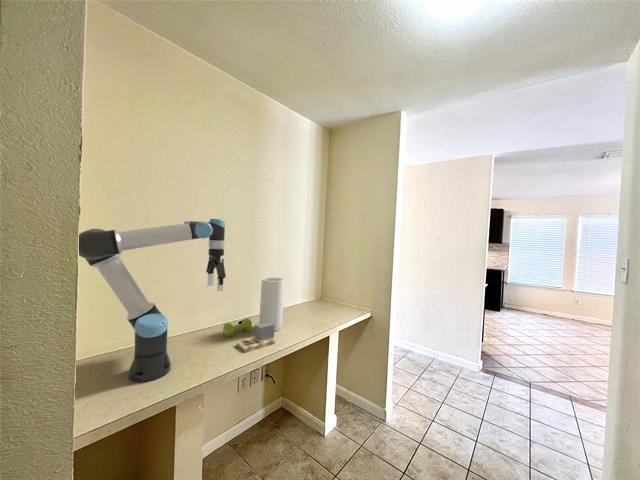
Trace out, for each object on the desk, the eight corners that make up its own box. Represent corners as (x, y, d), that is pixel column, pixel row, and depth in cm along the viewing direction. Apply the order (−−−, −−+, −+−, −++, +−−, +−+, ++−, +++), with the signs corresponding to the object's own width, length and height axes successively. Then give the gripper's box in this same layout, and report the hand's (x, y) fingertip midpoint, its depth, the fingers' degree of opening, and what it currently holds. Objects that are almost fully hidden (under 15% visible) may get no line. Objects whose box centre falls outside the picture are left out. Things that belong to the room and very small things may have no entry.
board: (245, 352, 134) (245, 348, 134) (236, 345, 142) (236, 341, 142) (275, 343, 146) (275, 340, 146) (265, 337, 154) (266, 334, 154)
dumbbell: (228, 338, 150) (228, 326, 149) (221, 334, 155) (221, 322, 155) (252, 331, 162) (253, 320, 162) (245, 327, 167) (246, 316, 167)
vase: (268, 334, 158) (271, 282, 157) (254, 327, 168) (256, 278, 167) (286, 328, 169) (288, 279, 168) (272, 322, 179) (274, 276, 177)
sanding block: (259, 342, 142) (260, 328, 142) (254, 338, 146) (254, 324, 146) (273, 338, 148) (274, 324, 148) (268, 335, 152) (268, 321, 152)
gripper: (233, 250, 131) (231, 292, 132) (214, 246, 150) (213, 283, 151) (218, 250, 126) (216, 294, 127) (200, 246, 145) (199, 284, 145)
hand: (214, 288), depth 139 cm, fingers open, 13 cm apart
